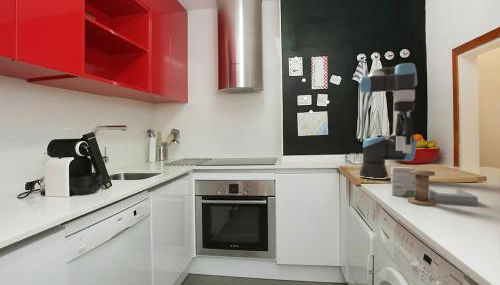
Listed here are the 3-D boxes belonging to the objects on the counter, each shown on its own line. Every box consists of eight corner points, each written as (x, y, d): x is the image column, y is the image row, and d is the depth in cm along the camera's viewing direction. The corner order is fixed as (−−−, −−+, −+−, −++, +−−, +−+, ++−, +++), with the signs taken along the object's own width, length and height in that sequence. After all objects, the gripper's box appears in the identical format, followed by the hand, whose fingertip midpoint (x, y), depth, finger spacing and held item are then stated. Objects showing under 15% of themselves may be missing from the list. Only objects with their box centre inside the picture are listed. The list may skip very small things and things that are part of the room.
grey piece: (425, 194, 119) (425, 187, 118) (460, 196, 115) (461, 189, 115) (436, 202, 105) (437, 195, 105) (477, 205, 101) (478, 197, 101)
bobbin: (405, 198, 111) (405, 169, 111) (430, 200, 109) (431, 170, 108) (411, 204, 103) (412, 172, 102) (439, 206, 100) (440, 173, 100)
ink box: (391, 195, 117) (392, 167, 117) (390, 192, 122) (390, 166, 122) (414, 197, 115) (415, 168, 114) (412, 194, 119) (412, 166, 119)
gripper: (388, 104, 129) (387, 149, 130) (401, 98, 106) (400, 153, 106) (406, 103, 127) (405, 150, 128) (423, 97, 103) (422, 154, 104)
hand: (403, 151), depth 117 cm, fingers open, 13 cm apart
